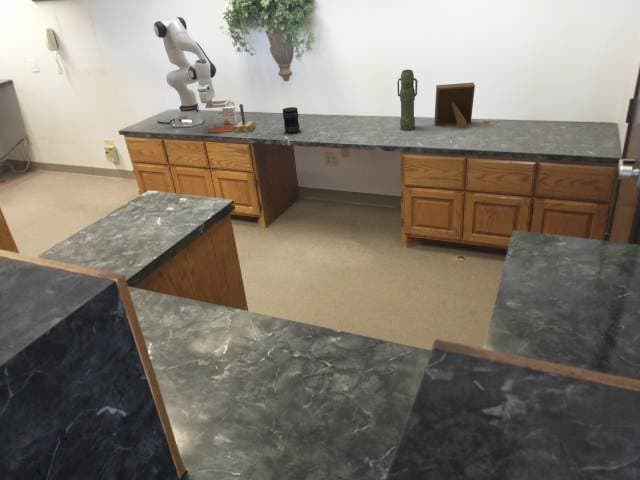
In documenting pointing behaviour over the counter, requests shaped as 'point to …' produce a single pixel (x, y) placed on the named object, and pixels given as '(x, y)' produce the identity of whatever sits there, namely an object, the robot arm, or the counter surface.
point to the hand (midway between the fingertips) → (209, 107)
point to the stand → (244, 123)
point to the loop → (219, 103)
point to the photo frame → (454, 104)
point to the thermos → (407, 99)
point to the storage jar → (291, 120)
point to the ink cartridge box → (229, 114)
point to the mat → (221, 129)
